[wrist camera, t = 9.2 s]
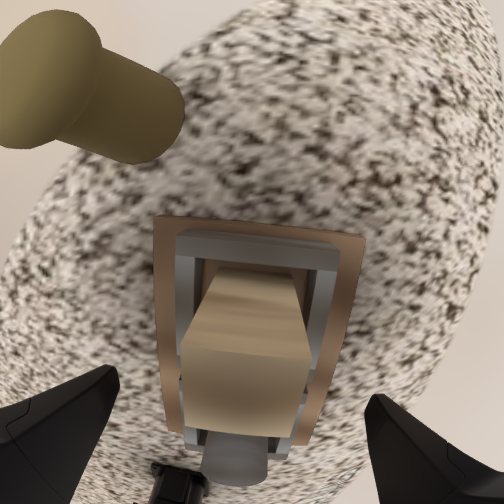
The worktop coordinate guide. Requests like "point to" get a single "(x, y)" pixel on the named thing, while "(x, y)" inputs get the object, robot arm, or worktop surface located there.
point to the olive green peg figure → (82, 93)
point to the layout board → (261, 259)
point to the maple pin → (245, 355)
